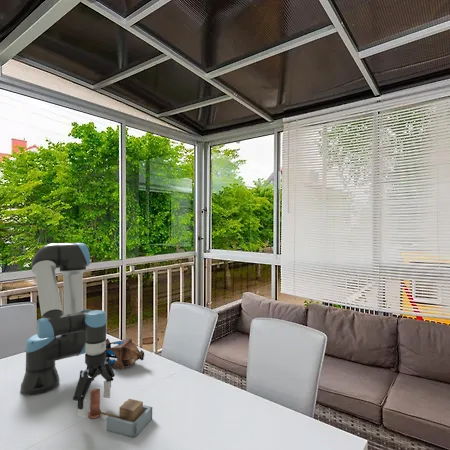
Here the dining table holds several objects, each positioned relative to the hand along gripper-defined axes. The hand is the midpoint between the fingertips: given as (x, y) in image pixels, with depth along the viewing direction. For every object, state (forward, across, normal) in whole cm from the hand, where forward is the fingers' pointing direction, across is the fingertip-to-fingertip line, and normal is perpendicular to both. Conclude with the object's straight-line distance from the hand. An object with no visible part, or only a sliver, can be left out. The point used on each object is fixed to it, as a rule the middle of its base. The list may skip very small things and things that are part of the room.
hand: (95, 406), depth 122 cm
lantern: (+3, +39, +17) cm, 43 cm away
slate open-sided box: (+4, 0, -16) cm, 16 cm away
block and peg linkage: (+3, 0, -8) cm, 9 cm away
